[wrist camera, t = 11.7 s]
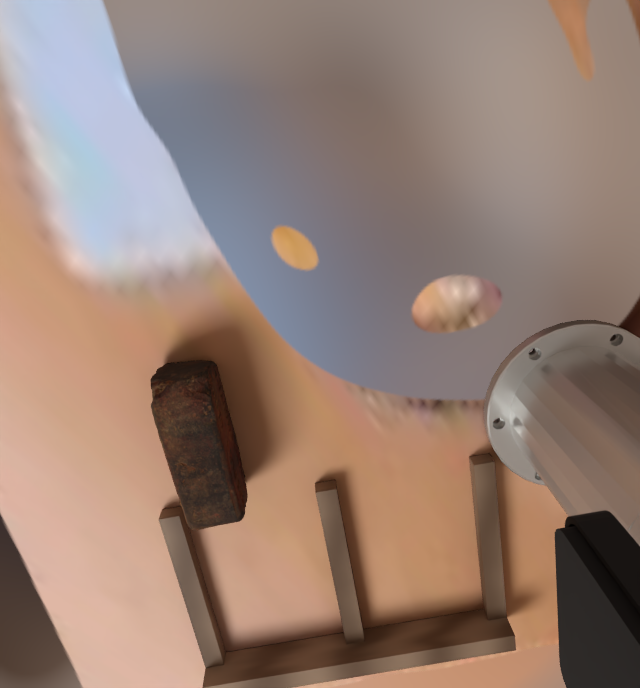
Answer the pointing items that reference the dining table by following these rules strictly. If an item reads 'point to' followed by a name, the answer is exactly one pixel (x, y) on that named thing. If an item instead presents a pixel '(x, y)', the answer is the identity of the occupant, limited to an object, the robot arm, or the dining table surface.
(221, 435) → the brick
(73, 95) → the dining table surface
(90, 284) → the dining table surface
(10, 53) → the dining table surface
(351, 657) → the lane rack
